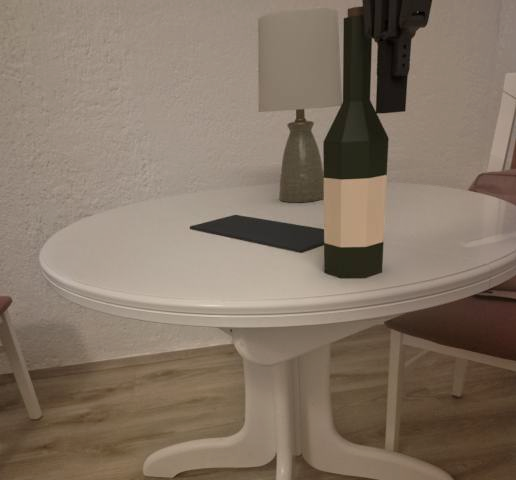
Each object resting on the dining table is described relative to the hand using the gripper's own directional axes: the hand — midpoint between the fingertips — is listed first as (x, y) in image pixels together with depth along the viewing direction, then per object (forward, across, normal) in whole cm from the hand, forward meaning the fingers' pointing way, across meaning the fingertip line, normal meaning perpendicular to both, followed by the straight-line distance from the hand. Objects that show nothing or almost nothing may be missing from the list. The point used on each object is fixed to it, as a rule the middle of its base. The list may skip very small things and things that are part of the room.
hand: (390, 112), depth 52 cm
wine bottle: (+20, -7, 0) cm, 21 cm away
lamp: (+20, -61, +16) cm, 66 cm away
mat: (+20, -35, -3) cm, 40 cm away
